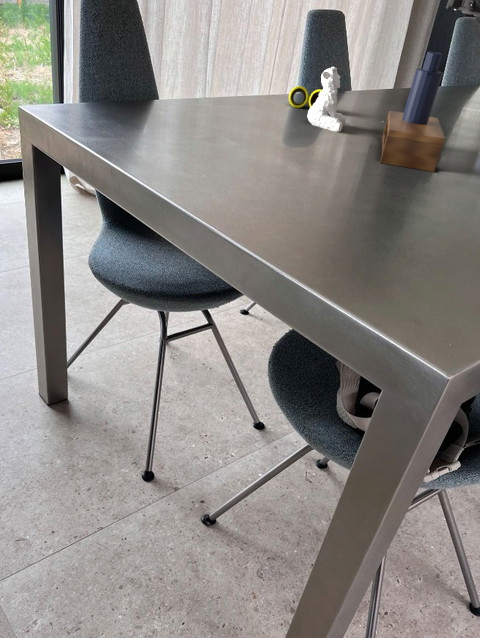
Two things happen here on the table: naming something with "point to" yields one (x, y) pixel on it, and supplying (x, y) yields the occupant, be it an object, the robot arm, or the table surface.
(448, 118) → the table surface
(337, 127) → the seated beast figurine
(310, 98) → the opera glasses
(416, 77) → the bottle
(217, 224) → the table surface
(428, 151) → the wooden block
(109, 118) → the table surface
